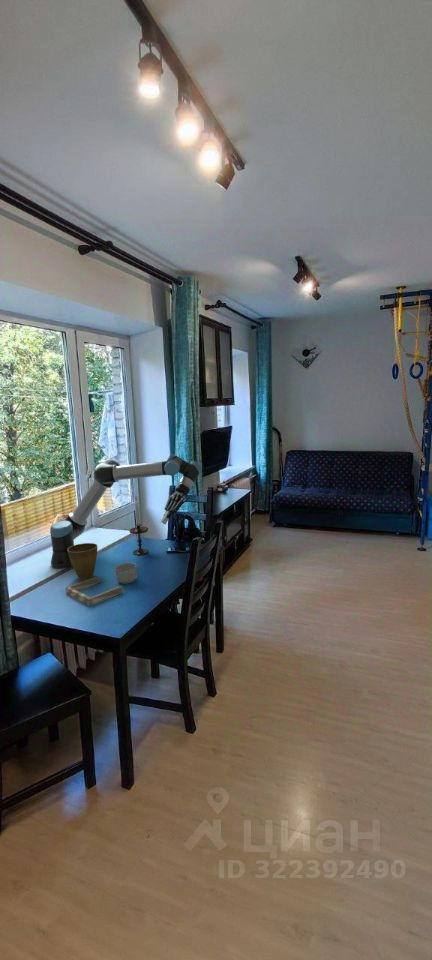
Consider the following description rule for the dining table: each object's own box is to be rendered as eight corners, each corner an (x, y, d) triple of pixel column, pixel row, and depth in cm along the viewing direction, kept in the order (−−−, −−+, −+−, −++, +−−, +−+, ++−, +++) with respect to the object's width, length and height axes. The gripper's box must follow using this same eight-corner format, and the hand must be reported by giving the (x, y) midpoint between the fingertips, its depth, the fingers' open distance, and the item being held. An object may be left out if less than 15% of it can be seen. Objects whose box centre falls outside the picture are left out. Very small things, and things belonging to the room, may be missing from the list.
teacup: (133, 586, 219) (131, 570, 217) (112, 585, 221) (110, 570, 220) (143, 575, 232) (141, 560, 231) (123, 574, 235) (122, 559, 233)
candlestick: (148, 555, 261) (143, 496, 255) (129, 556, 261) (124, 497, 255) (151, 549, 272) (146, 492, 265) (133, 550, 272) (128, 493, 265)
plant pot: (106, 575, 234) (103, 546, 231) (80, 584, 224) (77, 554, 221) (90, 569, 244) (87, 540, 241) (65, 577, 234) (61, 548, 231)
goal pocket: (66, 593, 214) (65, 587, 214) (98, 581, 226) (98, 576, 226) (90, 605, 200) (89, 599, 199) (122, 592, 212) (122, 586, 212)
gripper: (196, 491, 247) (175, 528, 238) (180, 489, 256) (159, 524, 247) (188, 483, 242) (167, 521, 233) (172, 481, 251) (151, 517, 242)
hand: (163, 522), depth 240 cm, fingers closed
